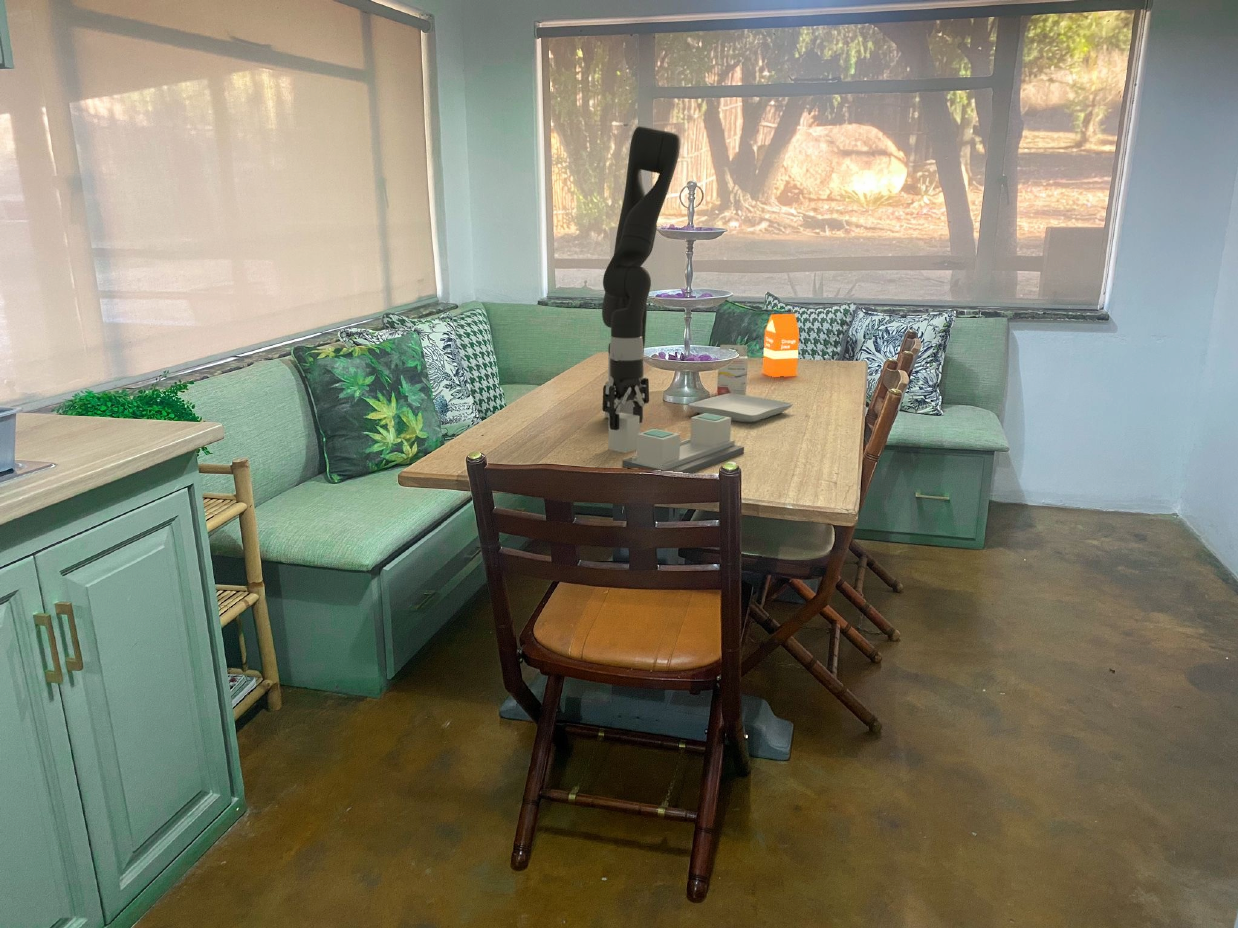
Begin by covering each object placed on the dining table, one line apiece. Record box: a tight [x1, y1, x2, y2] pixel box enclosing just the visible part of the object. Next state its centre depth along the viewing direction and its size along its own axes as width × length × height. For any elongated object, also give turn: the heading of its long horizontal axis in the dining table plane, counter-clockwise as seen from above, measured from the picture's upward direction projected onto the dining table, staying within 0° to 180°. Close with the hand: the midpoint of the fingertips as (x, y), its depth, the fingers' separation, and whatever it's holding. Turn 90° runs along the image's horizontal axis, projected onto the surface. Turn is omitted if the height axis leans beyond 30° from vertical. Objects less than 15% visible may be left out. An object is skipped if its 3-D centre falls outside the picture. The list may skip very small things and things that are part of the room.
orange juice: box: [762, 313, 800, 378], centre depth 298 cm, size 8×9×20 cm
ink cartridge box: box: [716, 344, 749, 396], centre depth 266 cm, size 9×5×15 cm, turn 84°
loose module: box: [607, 413, 640, 454], centre depth 208 cm, size 6×4×8 cm
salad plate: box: [688, 393, 793, 423], centre depth 244 cm, size 21×21×3 cm
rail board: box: [621, 413, 745, 474], centre depth 200 cm, size 14×27×8 cm, turn 140°
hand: (626, 426), depth 207 cm, fingers open, 8 cm apart
